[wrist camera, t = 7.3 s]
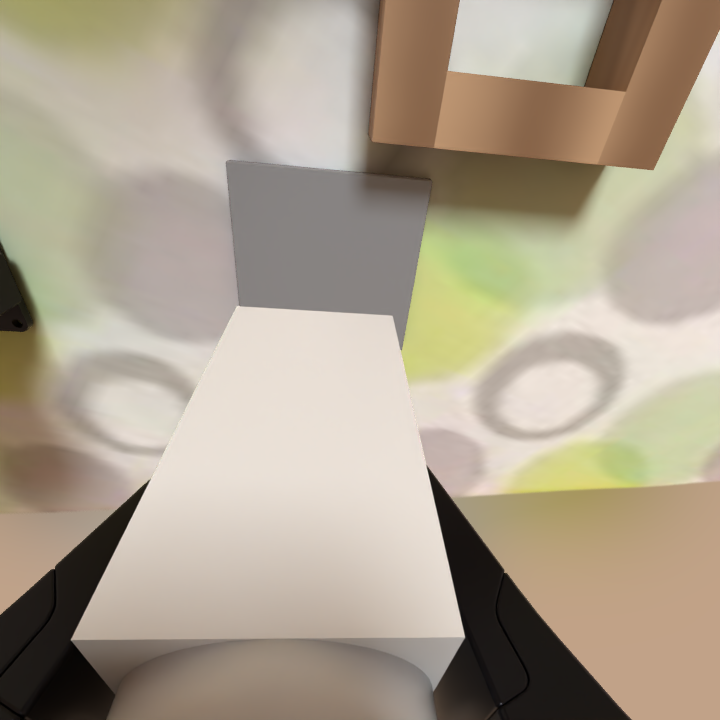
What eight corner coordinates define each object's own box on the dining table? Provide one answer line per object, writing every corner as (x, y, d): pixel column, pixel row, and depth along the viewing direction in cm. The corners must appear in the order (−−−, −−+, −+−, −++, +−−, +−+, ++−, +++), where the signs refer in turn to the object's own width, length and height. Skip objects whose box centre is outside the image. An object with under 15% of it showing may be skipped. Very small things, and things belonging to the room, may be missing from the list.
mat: (245, 335, 22) (242, 340, 22) (229, 160, 17) (225, 161, 16) (400, 344, 23) (401, 350, 22) (429, 179, 18) (432, 181, 17)
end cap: (248, 421, 13) (130, 835, 6) (236, 306, 11) (4, 774, 3) (375, 426, 14) (415, 823, 6) (392, 315, 11) (491, 756, 4)
